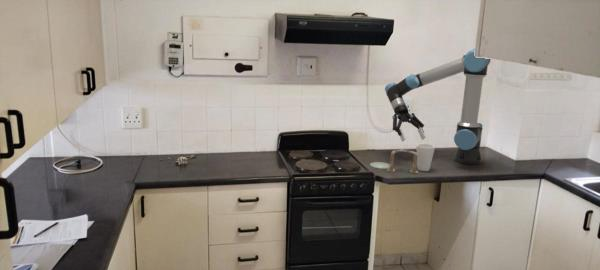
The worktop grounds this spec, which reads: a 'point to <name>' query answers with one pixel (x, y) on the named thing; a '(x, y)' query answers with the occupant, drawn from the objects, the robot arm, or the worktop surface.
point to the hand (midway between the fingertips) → (414, 139)
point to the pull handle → (413, 161)
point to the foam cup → (424, 156)
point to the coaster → (380, 165)
